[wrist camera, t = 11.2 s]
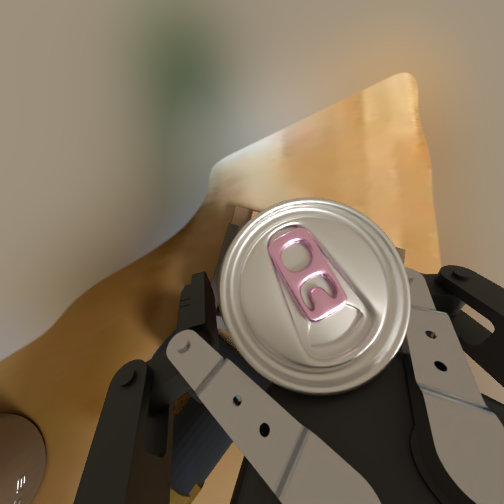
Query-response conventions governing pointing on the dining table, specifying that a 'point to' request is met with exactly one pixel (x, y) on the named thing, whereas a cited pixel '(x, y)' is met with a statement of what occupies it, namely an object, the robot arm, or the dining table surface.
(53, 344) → the dining table surface
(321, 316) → the beverage can
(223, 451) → the pipe connector
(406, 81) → the dining table surface
